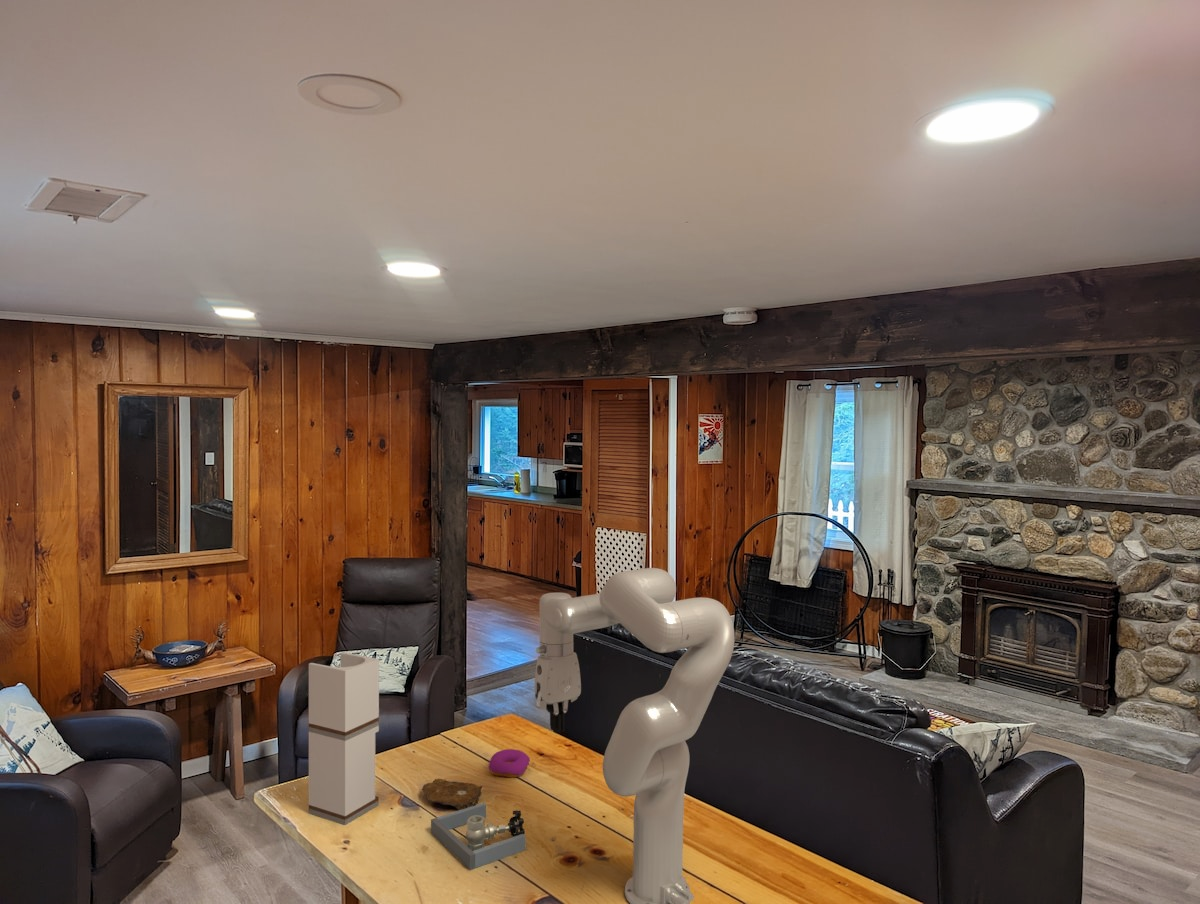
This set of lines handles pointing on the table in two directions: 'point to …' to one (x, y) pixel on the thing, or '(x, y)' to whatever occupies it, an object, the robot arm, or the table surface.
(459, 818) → the dock cradle
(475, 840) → the valve
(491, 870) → the table surface
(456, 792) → the decorative rock
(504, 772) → the donut
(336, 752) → the banded square pillar
